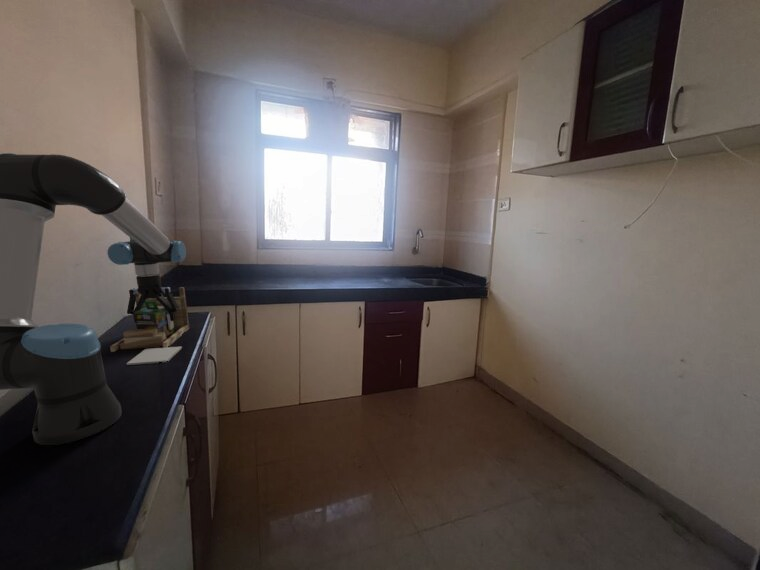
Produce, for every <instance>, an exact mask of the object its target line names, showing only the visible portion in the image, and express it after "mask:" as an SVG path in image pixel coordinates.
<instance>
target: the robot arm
mask: <svg viewBox="0 0 760 570" xmlns="http://www.w3.org/2000/svg"><path fill="white" fill-rule="evenodd" d="M57 206H77V207H82V208H85V209H86V210H88V211H90V213H92V214H94V215H97V216H102V217H104V219H106V220H107V221H109V222H110V223H111V224H112V225H113V226H115V227H116V228H117V229H118V230H120V231H121V232H122V233H124V234H125V235H126V236H128V237H129V241H118V242H116V243H113V244H111V245H109V247H108V249H107V251H106V252H107V257H108V259H109V260H110V261H111V263H113V264H115V265H117V266H118V265H119V266H122V265H126V266H127V265H130V264H133V265H134V271H135V272H134V274H135V275H136V277H135V278H136V279H135V280H136V285H137V288H135V287H134V288H131V289H129V290H128V292H129V298H128V299H129V300H128V303H127V304H128V305H127V310H126V314H127V315H132V316H133V321H134V324H136V321H135V316H134V312H136V311H139V310H141V308H142V306H143V304H144V302H145V300H146V299H149V298H152V299H155V298H156V299H157V300H158V301H159V302H160V303H161V304H162V305H163V307H164V308H165V309H166V310H167V311H168V312H169V313H168V314H167V319H168V326H169V330H171V329H173V328H174V324H173V321H174V320H175V314H174V312H176V311H177V310H179V307H178V305H177V303H176V301H175V299H174V297H175V296H174V295H173V293H172V288H171V287H170V286H167V287H163V286H162V281H161V275H160V269H159V264H161V263H172V264H173V263H182V262H184V260H186V256H187V249H186V248H187V247H186V245H185V243H184V242H183V241H180V240H171V239H170V238H168V237H167V235H165V234H164V233H163V232H162V230H160V229H159V228H158V227H157V226H156V225H155V224H154V223H153V222H152V221H151V220H150V219H149V218H148V217H147V216H146V215H145V214H144V213H142V212H141V211H140V210H139V209H138V208H137V207H136V206H135V205H134V204H133V203H132V202H131V201H130V200H129V199H128V198H127V194H126V191H125V190H124V189H123V188H122V186H121V185H119V183H117V182H116V181H115V180H113V179H112V178H111V177H110V176H108V174H106V173H104V172H103V171H101V170H100V169H98V168H96V167H95V166H92V165H90V164H89V163H86V162H85V161H82V160H80V159H77V158H75V157H72V156H68V155H63V154H54V153H53V154H16V153H9V152H8V153H6V152H4V153H0V391H1V390H15V389H33V390H34V394H35V397H36V401H37V407H36V413H35V416H34V421H33V425H32V432H31V433H32V436H33V437H32V438H33V441H34V443H35V442H36V443H38V444H41V445H57V444H64V443H69V442H73V441H77V440H80V439H83V438H85V437H88V436H91V435H93V434H95V433H97V434H99V433H101V432H102V431H101V430H103V431H105V430H107V429H108V428H110V427H112V424H113V425H114V424H115V423H116V422H118V420H120V418H121V416H122V414H123V413H122V410H123V409H122V406H121V403H120V401H119V400H118V399H117V397H116V396H115V394H114V393H113V391H112V389H110V387H109V386H108V383H107V378H106V373H105V368H104V362H103V358H102V351H101V346H102V345H101V342H100V341H99V338H98V334H97V332H96V331H95V329H94V328H92V326H88V325H87V324H86V325H85V324H81V323H58V324H47V325H42V326H39V325H38V323H37V324H36V322H34V321H33V320H32V316H33V309H34V302H35V301H34V300H35V296H36V295H35V294H36V287H37V279H38V273H39V266H40V258H41V250H42V243H43V236H44V228H45V223H46V222H47V221H49V220H51V219H53V218H55V212H56V207H57ZM138 292H139V293H140V294H141V297H140V298H139V301H138V303H137V305H136V296H137V293H138ZM162 292H163V293H164V294H165V296H164V295H163V294H162ZM164 297H167V299H168V301H169V303H170V304H169V303H168V302H167V301H166V299H165V298H164ZM109 426H110V427H109ZM107 427H108V428H107ZM106 428H107V429H106ZM104 429H105V430H104ZM100 431H101V432H100ZM98 432H99V433H98ZM95 435H96V434H95ZM93 436H94V435H93ZM91 437H92V436H91ZM88 438H89V437H88ZM83 440H84V439H83ZM80 441H81V440H80ZM77 442H78V441H77ZM36 443H35V444H36ZM73 443H74V442H73ZM38 444H37V445H38ZM69 444H70V443H69ZM41 445H40V446H41Z"/></svg>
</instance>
